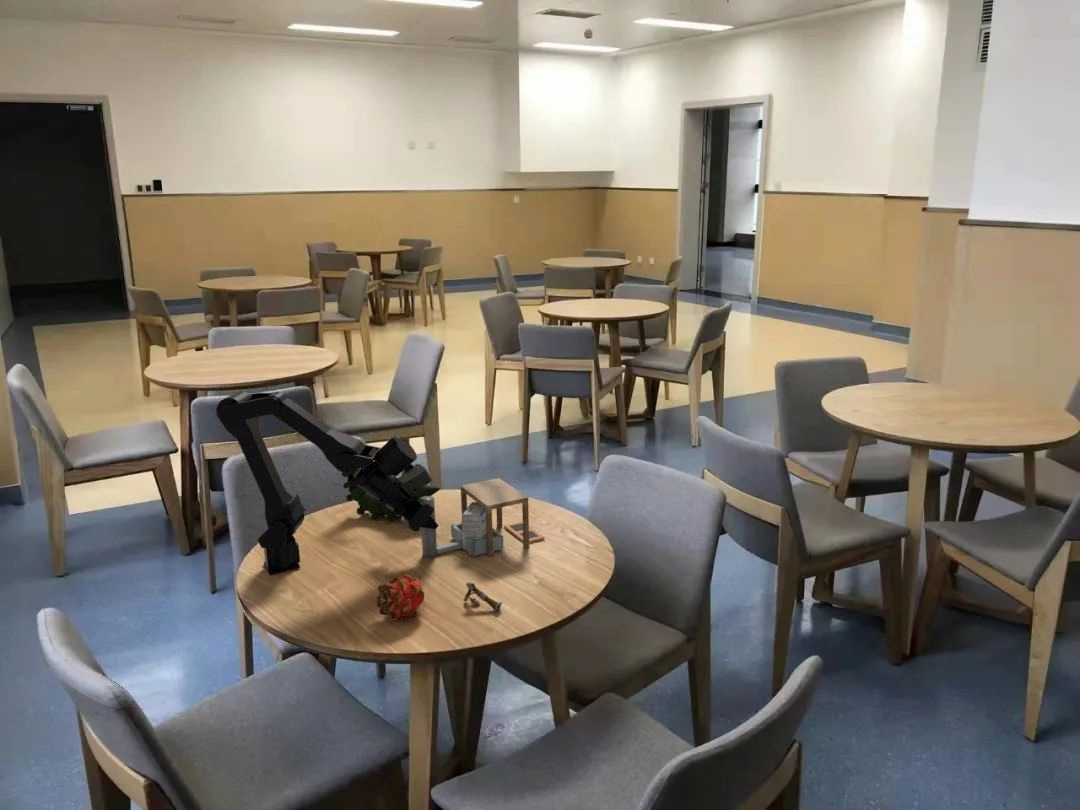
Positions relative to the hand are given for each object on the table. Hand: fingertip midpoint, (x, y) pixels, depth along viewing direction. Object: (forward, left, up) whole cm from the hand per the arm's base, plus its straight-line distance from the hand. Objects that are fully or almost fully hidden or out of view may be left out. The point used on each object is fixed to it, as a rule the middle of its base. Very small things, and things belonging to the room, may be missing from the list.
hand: (434, 524), depth 180 cm
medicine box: (+10, 0, -7) cm, 12 cm away
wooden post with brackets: (-1, -27, -7) cm, 28 cm away
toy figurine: (-1, +25, -7) cm, 26 cm away
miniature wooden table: (+15, 0, -7) cm, 16 cm away
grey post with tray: (+6, 0, -7) cm, 9 cm away
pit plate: (+22, 0, -7) cm, 23 cm away
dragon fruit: (-15, -22, -7) cm, 28 cm away
